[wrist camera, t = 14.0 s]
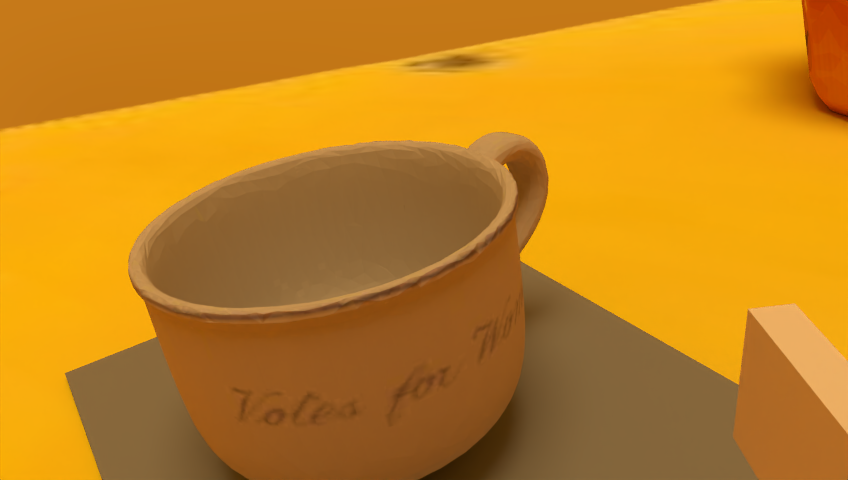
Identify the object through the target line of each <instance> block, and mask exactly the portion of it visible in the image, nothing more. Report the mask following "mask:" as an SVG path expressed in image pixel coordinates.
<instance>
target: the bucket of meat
mask: <svg viewBox="0 0 848 480" xmlns="http://www.w3.org/2000/svg"><path fill="white" fill-rule="evenodd" d="M802 8H803V17H804V27H805V36H806V46H807V56H808V65H809V75H810V79H811V81H812V84H813V86H814V88H815V90H816V92H817V94H818V96H819V97H820V98H821V99H822V100H823V102H824V103H825V104H826V105H827V106H828V107H829V109H830V110H831V111H834V112H836V113H839V114H842V115H845V116H848V0H802Z"/></svg>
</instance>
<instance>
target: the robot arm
mask: <svg viewBox="0 0 848 480" xmlns="http://www.w3.org/2000/svg"><path fill="white" fill-rule="evenodd" d="M733 438H734V440H735V441H736V443H737V445H738V446H739V448H740V450H741V451H742V453H743V455H744V456H745V458H746V460H747V461H748V463H749V465H750V466H751V468H752V470H753V471H754V473H755V475H756V476H757V478H758V480H848V361H847V360H846V359H845V358H844V357H843V356H842V355H841V354H840V352H839V351H838V350H837V349H836V348H835V347H834V346H833V345H832V344H831V343H830V341H829V340H828V339H827V338H826V337H825V336H824V335H823V334H822V333H821V332H820V330H819V329H818V328H817V327H816V326H815V325H814V324H813V323H812V322H811V321H810V319H809V318H808V317H807V316H806V315H805V314H804V313H803V312H802V311H801V310H800V309H799V307H798V306H797V305H796V304H788V305H779V306H770V307H762V308H753V309H748V314H747V323H746V331H745V339H744V348H743V356H742V365H741V373H740V382H739V390H738V398H737V407H736V415H735V424H734V432H733Z"/></svg>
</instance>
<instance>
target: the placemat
mask: <svg viewBox="0 0 848 480" xmlns="http://www.w3.org/2000/svg"><path fill="white" fill-rule="evenodd" d="M520 263H521V274H522V284H523V298H524V313H525V349H524V358H523V364H522V369H521V374H520V378H519V381H518V384H517V386H516V389H515V391H514V394H513V396H512V399H511V400H510V402H509V404H508V405H507V407H506V409H505V410H504V412H503V413H502V415H501V416H500V418H499V419H498V421H497V422H496V423H495V424H494V425H493V427H492V428H491V429H490V430H489V431H488V432H487V433H486V434H485V436H483V437H482V438H481V439H480V440H479V441H478V442H477V443H476V444H474V445H473V446H472V447H471V448H470V449H469V450H468V451H466V452H465V453H464V454H462V455H461V456H459V457H458V458H456V459H455V460H453V461H451V462H450V463H448V464H447V465H445V466H444V467H442V468H441V469H438V470H436V471H434V472H432V473H430V474H428V475H426V476H425V477H422V478H420V479H418V480H758V478H757V476H756V475H755V473H754V471H753V470H752V468H751V466H750V465H749V463H748V461H747V460H746V458H745V456H744V455H743V453H742V451H741V450H740V448H739V446H738V445H737V443H736V441H735V440H734V438H733V432H734V424H735V415H736V407H737V398H738V390H739V385H738V384H736V383H734V382H732V381H731V380H729V379H727V378H725V377H724V376H722V375H720V374H718V373H717V372H715V371H713V370H711V369H710V368H708V367H706V366H704V365H702V364H701V363H699V362H697V361H695V360H694V359H692V358H690V357H688V356H687V355H685V354H683V353H681V352H680V351H678V350H676V349H674V348H673V347H671V346H669V345H667V344H665V343H664V342H662V341H660V340H658V339H657V338H655V337H653V336H651V335H650V334H648V333H646V332H644V331H643V330H641V329H639V328H637V327H635V326H634V325H632V324H630V323H628V322H627V321H625V320H623V319H621V318H620V317H618V316H616V315H614V314H613V313H611V312H609V311H607V310H605V309H604V308H602V307H600V306H598V305H597V304H595V303H593V302H591V301H590V300H588V299H586V298H584V297H583V296H581V295H579V294H577V293H576V292H574V291H572V290H570V289H568V288H567V287H565V286H563V285H561V284H560V283H558V282H556V281H554V280H553V279H551V278H549V277H547V276H546V275H544V274H542V273H540V272H538V271H537V270H535V269H533V268H531V267H530V266H528V265H526V264H524V263H523V262H521V261H520ZM65 375H66V378H67V380H68V383H69V386H70V389H71V392H72V395H73V397H74V400H75V403H76V406H77V409H78V412H79V415H80V417H81V420H82V423H83V426H84V429H85V432H86V435H87V437H88V440H89V443H90V446H91V449H92V452H93V454H94V457H95V460H96V463H97V466H98V469H99V472H100V474H101V477H102V480H249V479H247V478H246V477H244V476H243V475H241V474H239V473H238V472H236V471H235V470H233V469H232V468H230V467H229V466H228V465H227V464H226V463H225V462H223V461H222V460H221V459H220V458H219V457H218V456H217V455H216V454H215V453H214V451H213V450H212V449H211V448H210V447H209V445H208V444H207V443H206V441H205V440H204V438H203V437H202V435H201V434H200V432H199V431H198V429H197V428H196V426H195V425H194V423H193V421H192V419H191V416H190V414H189V412H188V410H187V408H186V406H185V404H184V402H183V399H182V397H181V395H180V393H179V390H178V388H177V386H176V383H175V381H174V378H173V376H172V374H171V371H170V369H169V366H168V364H167V361H166V358H165V356H164V353H163V351H162V348H161V345H160V343H159V340H158V337H156V338H153V339H151V340H148V341H146V342H143V343H141V344H138V345H136V346H133V347H131V348H128V349H126V350H123V351H120V352H118V353H115V354H113V355H110V356H108V357H105V358H103V359H100V360H98V361H95V362H93V363H90V364H88V365H85V366H82V367H80V368H77V369H75V370H72V371H70V372H67V373H65Z"/></svg>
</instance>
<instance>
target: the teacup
mask: <svg viewBox="0 0 848 480" xmlns="http://www.w3.org/2000/svg"><path fill="white" fill-rule="evenodd" d="M505 163H506V164H507V166H508V168H509V171H508V170H507V169H506V168H505V167H504V166H503V165H504V164H505ZM547 194H548V173H547V169H546V164H545V160H544V157H543V155H542V153H541V152H540V150H539V149H538V147H537V146H536V145H535V144H534V143H533V142H532V141H530V140H529V139H527V138H526V137H524V136H520V135H517V134H512V133H505V132H496V133H490V134H487V135H485V136H483V137H481V138H479V139H478V140H476V141H475V142H474V143H473V144H472V145H470V146H469V148H468V149H466V148H463V147H460V146H457V145H449V144H443V143H436V142H417V141H410V140H408V141H374V142H369V143H357V144H355V145H344V146H336V147H329V148H323V149H319V150H315V151H311V152H306V153H301V154H297V155H293V156H289V157H285V158H281V159H277V160H274V161H270V162H267V163H263V164H260V165H257V166H254V167H251V168H248V169H245V170H243V171H240V172H237V173H235V174H233V175H230V176H228V177H226V178H224V179H222V180H219V181H216V182H213V183H211V184H210V185H208V186H206V187H204V188H202V189H200V190H198V191H196V192H194V193H192V194H191V195H189V196H188V197H187V198H185V199H183V200H181V201H179V202H177V203H176V204H174V205H173V206H171V207H170V208H168V209H167V210H166V211H164V212H163V213H162V214H161V215H159V216H158V217H157V218H156V219H154V220H153V221H152V222H151V223H150V224H149V225H148V226H147V227H146V228H145V229H144V230H143V232H142V233H141V234H140V235H139V237H138V238H137V240H136V242H135V244H134V246H133V248H132V250H131V252H130V256H129V269H128V271H129V277H130V279H131V282H132V285H133V287H134V289H135V290H136V292H137V293H138V295H139V296H140V297H141V298H142V299H143V300H144V301H145V304H146V307H147V309H148V312H149V315H150V318H151V321H152V323H153V326H154V329H155V332H156V334H157V337H158V340H159V343H160V345H161V348H162V351H163V353H164V356H165V358H166V361H167V364H168V366H169V369H170V371H171V374H172V376H173V378H174V381H175V383H176V386H177V388H178V390H179V393H180V395H181V397H182V399H183V402H184V404H185V406H186V408H187V410H188V412H189V414H190V416H191V419H192V421H193V423H194V425H195V426H196V428H197V429H198V431H199V432H200V434H201V435H202V437H203V438H204V440H205V441H206V443H207V444H208V445H209V447H210V448H211V449H212V450H213V451H214V453H215V454H216V455H217V456H218V457H219V458H220V459H221V460H222V461H223V462H225V463H226V464H227V465H228V466H229V467H230V468H232V469H233V470H235V471H236V472H238V473H239V474H241V475H243V476H244V477H246V478H247V479H249V480H418V479H420V478H422V477H425V476H426V475H428V474H430V473H432V472H434V471H436V470H438V469H441V468H442V467H444V466H445V465H447V464H448V463H450V462H451V461H453V460H455V459H456V458H458V457H459V456H461V455H462V454H464V453H465V452H466V451H468V450H469V449H470V448H471V447H472V446H473V445H474V444H476V443H477V442H478V441H479V440H480V439H481V438H482V437H483V436H485V434H486V433H487V432H488V431H489V430H490V429H491V428H492V427H493V425H494V424H495V423H496V422H497V421H498V419H499V418H500V416H501V415H502V413H503V412H504V410H505V409H506V407H507V405H508V404H509V402H510V400H511V399H512V396H513V394H514V391H515V389H516V386H517V384H518V381H519V378H520V374H521V369H522V364H523V358H524V349H525V313H524V298H523V284H522V274H521V263H520V252H521V251H522V250H523V248H524V247H525V245H526V244H527V242H528V241H529V239H530V237H531V236H532V234H533V232H534V231H535V229H536V227H537V224H538V222H539V220H540V218H541V215H542V212H543V210H544V207H545V203H546V199H547Z"/></svg>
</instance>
